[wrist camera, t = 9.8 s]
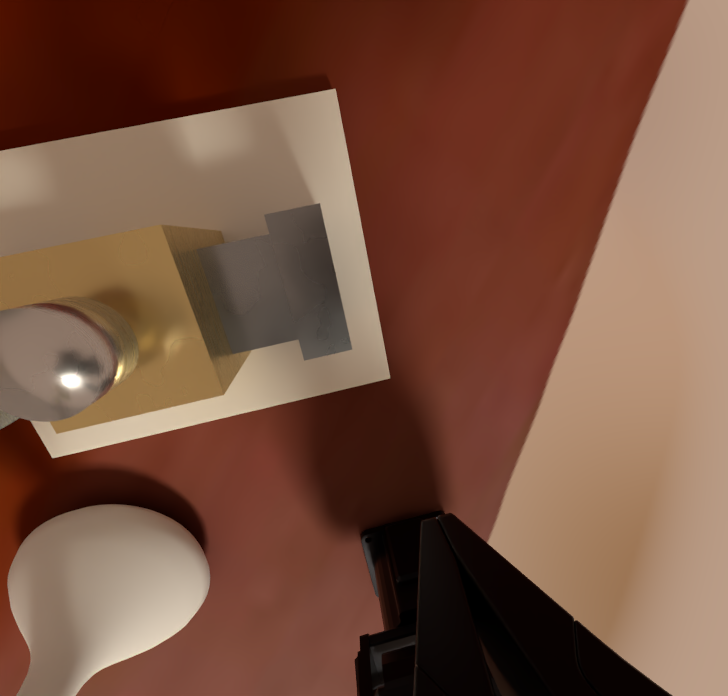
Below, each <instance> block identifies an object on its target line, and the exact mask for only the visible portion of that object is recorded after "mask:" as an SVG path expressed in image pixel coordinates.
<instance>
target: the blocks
mask: <svg viewBox="0 0 728 696" xmlns="http://www.w3.org/2000/svg"><path fill="white" fill-rule="evenodd" d="M264 216H265V220H266V223H267V227H268V231H269V234H267V235H262V236H257V237H252V238H247V239H243V240H238V241H233V242H228V243H225V242H224V238H223V235H222V232H221V231H217V230H208V229H199V228H189V227H180V226H170V225H156V226H151V227H146V228H141V229H136V230H131V231H126V232H121V233H116V234H111V235H106V236H101V237H96V238H92V239H87V240H82V241H77V242H72V243H67V244H62V245H57V246H52V247H47V248H42V249H37V250H32V251H27V252H22V253H18V254H13V255H8V256H3V257H0V311H2V310H6V309H11V308H15V307H20V306H25V305H29V304H34V303H39V302H43V301H48V300H52V299H57V298H62V297H68V296H79V297H86V298H91V299H94V300H97V301H100V302H102V303H104V304H106V305H108V306H110V307H111V308H113V309H114V310H115V311H117V312H118V313H119V314H120V315H121V316H122V317H123V318H124V319H125V320H126V321H127V322H128V323H129V325H130V326H131V328H132V330H133V332H134V333H135V336H136V339H137V342H138V348H139V355H138V361H137V365H136V367H135V369H134V371H133V372H132V374H131V375H130V376H129V377H128V378H127V379H126V380H125V381H123V382H122V383H121V384H119V385H118V386H116V387H115V388H114V389H112V390H111V391H109V392H108V393H107V394H105V395H104V396H102V397H101V398H100V399H98V400H97V401H95V402H94V403H93V404H91V405H90V406H88V407H87V408H86V409H84V410H83V411H81V412H80V413H78V414H76V415H74V416H72V417H70V418H67V419H63V420H59V421H51V422H50V423H51V425H52V427H53V429H54V430H55V432H56V434H59V433H63V432H67V431H72V430H76V429H80V428H85V427H89V426H93V425H97V424H102V423H106V422H110V421H115V420H119V419H123V418H127V417H132V416H136V415H140V414H145V413H149V412H153V411H158V410H162V409H166V408H170V407H175V406H179V405H183V404H188V403H192V402H196V401H200V400H205V399H209V398H213V397H218V396H222V395H224V394H225V392H226V391H227V389H228V388H229V386H230V384H231V383H232V381H233V380H234V378H235V376H236V375H237V373H238V372H239V370H240V368H241V367H242V365H243V364H244V362H245V360H246V359H247V357H248V356H249V354H250V352H251V351H252V350H254V349H259V348H263V347H267V346H272V345H276V344H281V343H285V342H289V341H294V340H299V343H300V347H301V351H302V354H303V358H304V361H305V360H309V359H314V358H318V357H322V356H327V355H331V354H335V353H340V352H344V351H348V350H353V349H352V345H351V341H350V336H349V332H348V327H347V323H346V318H345V314H344V309H343V305H342V300H341V296H340V291H339V287H338V282H337V278H336V273H335V269H334V264H333V260H332V255H331V251H330V246H329V242H328V237H327V233H326V228H325V224H324V219H323V215H322V210H321V206H320V203H319V204H314V205H309V206H304V207H299V208H294V209H289V210H284V211H279V212H275V213H270V214H265V215H264ZM17 419H19V417H16V416H13V415H10V414H8V413H6V412H4V411H2V410H0V429H2V428H4V427H5V426H7V425H9V424H11V423H12V422H14V421H16V420H17Z"/></svg>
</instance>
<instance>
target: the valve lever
mask: <svg viewBox="0 0 728 696" xmlns="http://www.w3.org/2000/svg"><path fill="white" fill-rule="evenodd" d="M138 355H139V348H138V342H137V339H136V336H135V333H134V332H133V330H132V328H131V326H130V325H129V323H128V322H127V321H126V320H125V319H124V318H123V317H122V316H121V315H120V314H119V313H118V312H117V311H115V310H114V309H113V308H111V307H110V306H108V305H106V304H104V303H102V302H100V301H97V300H94V299H91V298H86V297H79V296H68V297H62V298H57V299H52V300H48V301H43V302H39V303H34V304H29V305H25V306H20V307H15V308H11V309H6V310H2V311H0V410H2V411H4V412H6V413H8V414H10V415H13V416H16V417H19V418H22V419H26V420H31V421H39V422H51V421H59V420H63V419H67V418H70V417H72V416H74V415H76V414H78V413H80V412H81V411H83V410H84V409H86V408H87V407H88V406H90V405H91V404H93V403H94V402H95V401H97V400H98V399H100V398H101V397H102V396H104V395H105V394H107V393H108V392H109V391H111V390H112V389H114V388H115V387H116V386H118V385H119V384H121V383H122V382H123V381H125V380H126V379H127V378H128V377H129V376H130V375H131V374H132V372H133V371H134V369H135V367H136V365H137V361H138Z"/></svg>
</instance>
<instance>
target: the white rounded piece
mask: <svg viewBox="0 0 728 696" xmlns="http://www.w3.org/2000/svg"><path fill="white" fill-rule="evenodd" d="M209 585H210V571H209V566H208V563H207V559H206V557H205V554H204V552H203V550H202V548H201V546H200V544H199V543H198V542H197V540H196V539H195V537H194V536H193V535H192V534H191V533H190V532H189V531H188V530H187V529H186V528H184V527H183V526H182V525H181V524H179V523H178V522H176V521H174V520H173V519H171V518H169V517H167V516H165V515H163V514H161V513H158V512H155V511H153V510H150V509H146V508H142V507H138V506H131V505H121V504H105V505H95V506H89V507H85V508H81V509H77V510H74V511H70V512H67V513H64V514H61V515H59V516H56V517H54V518H52V519H50V520H48V521H46V522H44V523H43V524H41V525H40V526H39V527H37V528H36V529H34V530H33V531H32V532H31V533H30V534H29V535H28V536H27V537H26V539H25V540H24V541H23V543H22V544H21V545H20V547H19V549H18V552H17V554H16V556H15V558H14V560H13V563H12V565H11V567H10V571H9V574H8V592H9V599H10V605H11V610H12V613H13V616H14V618H15V620H16V623H17V625H18V627H19V629H20V631H21V633H22V635H23V637H24V639H25V641H26V643H27V645H28V647H29V650H30V655H31V663H30V667H29V671H28V674H27V676H26V678H25V680H24V682H23V684H22V686H21V688H20V690H19V692H18V694H17V695H16V696H75V695H76V694H77V693H78V691H79V690H80V688H81V687H82V686H83V685H84V684H85V683H86V682H87V681H88V680H89V679H90V678H91V677H92V676H93V675H94V674H95V673H97V672H98V671H100V670H101V669H103V668H106V667H108V666H110V665H112V664H115V663H117V662H120V661H123V660H125V659H128V658H130V657H133V656H135V655H137V654H140V653H142V652H144V651H147V650H149V649H151V648H153V647H155V646H157V645H158V644H160V643H161V642H163V641H165V640H166V639H168V638H170V637H171V636H173V635H174V634H176V633H177V632H179V631H180V630H181V629H182V628H183V627H184V626H185V625H186V624H187V623H188V622H189V621H190V620H191V619H192V617H193V616H194V615H195V613H196V612H197V611H198V609H199V608H200V607H201V605H202V603H203V602H204V600H205V598H206V596H207V593H208V589H209Z"/></svg>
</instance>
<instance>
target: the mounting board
mask: <svg viewBox="0 0 728 696" xmlns="http://www.w3.org/2000/svg"><path fill="white" fill-rule="evenodd" d="M319 203H320V206H321V210H322V215H323V219H324V224H325V228H326V233H327V237H328V242H329V246H330V251H331V255H332V260H333V264H334V269H335V273H336V278H337V282H338V287H339V291H340V296H341V300H342V305H343V309H344V314H345V318H346V323H347V327H348V332H349V336H350V341H351V345H352V349H353V350H348V351H344V352H340V353H335V354H331V355H327V356H322V357H318V358H314V359H309V360H305V361H304V358H303V354H302V351H301V347H300V343H299V340H294V341H289V342H285V343H281V344H276V345H272V346H267V347H263V348H259V349H254V350H252V351H251V352H250V354H249V356H248V357H247V359H246V360H245V362H244V364H243V365H242V367H241V368H240V370H239V372H238V373H237V375H236V376H235V378H234V380H233V381H232V383H231V384H230V386H229V388H228V389H227V391H226V392H225V394H224V395H222V396H218V397H213V398H209V399H205V400H200V401H196V402H192V403H188V404H183V405H179V406H175V407H170V408H166V409H162V410H158V411H153V412H149V413H145V414H140V415H136V416H132V417H127V418H123V419H119V420H115V421H110V422H106V423H102V424H97V425H93V426H89V427H85V428H80V429H76V430H72V431H67V432H63V433H59V434H56V432H55V430H54V429H53V427H52V425H51V423H50V422H39V421H31V420H30V421H31V423H32V424H33V426H34V428H35V429H36V431H37V433H38V435H39V436H40V438H41V440H42V441H43V443H44V445H45V446H46V448H47V450H48V451H49V453H50V455H51V457H52V458H56V457H61V456H65V455H69V454H73V453H78V452H82V451H86V450H90V449H94V448H99V447H103V446H107V445H111V444H116V443H120V442H124V441H128V440H132V439H137V438H141V437H145V436H149V435H154V434H158V433H162V432H166V431H170V430H175V429H179V428H183V427H187V426H192V425H196V424H200V423H204V422H208V421H213V420H217V419H221V418H225V417H230V416H234V415H238V414H242V413H246V412H251V411H255V410H259V409H263V408H268V407H272V406H276V405H280V404H284V403H289V402H293V401H297V400H301V399H306V398H310V397H314V396H318V395H322V394H327V393H331V392H335V391H339V390H344V389H348V388H352V387H356V386H360V385H365V384H369V383H373V382H377V381H382V380H386V379H390V373H389V368H388V362H387V357H386V352H385V347H384V341H383V336H382V331H381V325H380V320H379V315H378V310H377V304H376V299H375V294H374V289H373V283H372V278H371V273H370V268H369V262H368V257H367V252H366V246H365V241H364V236H363V231H362V225H361V220H360V215H359V210H358V204H357V199H356V194H355V189H354V183H353V178H352V173H351V167H350V162H349V157H348V152H347V146H346V141H345V136H344V131H343V125H342V120H341V115H340V110H339V104H338V99H337V94H336V89H331V90H326V91H320V92H315V93H310V94H304V95H299V96H293V97H288V98H283V99H277V100H272V101H266V102H261V103H256V104H250V105H245V106H240V107H234V108H229V109H223V110H218V111H213V112H207V113H202V114H196V115H191V116H186V117H180V118H175V119H169V120H164V121H159V122H153V123H148V124H143V125H137V126H132V127H126V128H121V129H116V130H110V131H105V132H99V133H94V134H89V135H83V136H78V137H72V138H67V139H62V140H56V141H51V142H46V143H40V144H35V145H29V146H24V147H19V148H13V149H8V150H2V151H0V257H3V256H8V255H13V254H18V253H22V252H27V251H32V250H37V249H42V248H47V247H52V246H57V245H62V244H67V243H72V242H77V241H82V240H87V239H92V238H96V237H101V236H106V235H111V234H116V233H121V232H126V231H131V230H136V229H141V228H146V227H151V226H156V225H170V226H180V227H189V228H199V229H208V230H217V231H221V232H222V235H223V238H224V242H225V243H228V242H233V241H238V240H243V239H247V238H252V237H257V236H262V235H267V234H269V231H268V227H267V223H266V220H265V216H264V215H265V214H270V213H275V212H279V211H284V210H289V209H294V208H299V207H304V206H309V205H314V204H319Z"/></svg>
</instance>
